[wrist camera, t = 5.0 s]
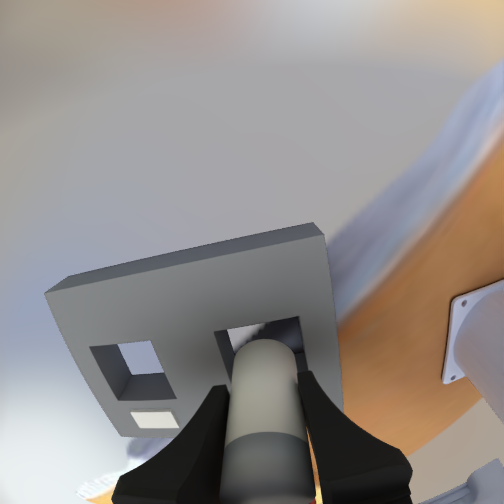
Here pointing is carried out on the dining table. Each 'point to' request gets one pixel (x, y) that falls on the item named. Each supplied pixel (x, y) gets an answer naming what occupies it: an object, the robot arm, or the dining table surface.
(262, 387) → the plug
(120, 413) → the socket panel
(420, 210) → the dining table surface
